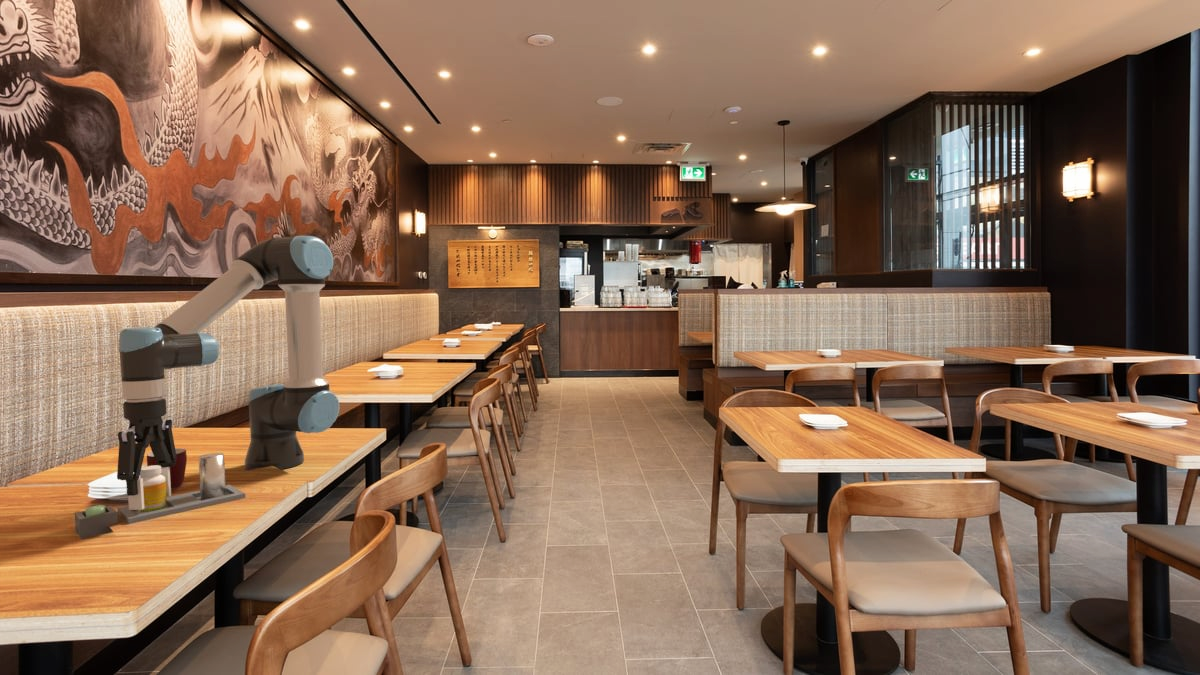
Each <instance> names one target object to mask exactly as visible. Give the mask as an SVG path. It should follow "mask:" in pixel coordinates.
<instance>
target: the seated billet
mask: <svg viewBox="0 0 1200 675" xmlns="http://www.w3.org/2000/svg"><path fill="white" fill-rule="evenodd" d="M225 470H226V468H225V454H224V452H223V453H222V452H215V453H214V452H212V453H207V454H206V453H205V454H202V455H199V456H198V475H199V489H200V490H199V491H200V494H201V501H202V500H206V499H211V498H216V497H220V496H225V495H226V485H227V484H226V471H225Z"/></svg>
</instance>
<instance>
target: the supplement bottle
mask: <svg viewBox="0 0 1200 675" xmlns="http://www.w3.org/2000/svg"><path fill="white" fill-rule="evenodd" d="M160 473H161V466H159V465H152V466H147V465H146V466H142V468H141V472H140V477H139V478H143V492H144V509H142V510H136V512H137V514H142V513H146V512H151V511H156V510H160V509H165V508H166V507H167V504H166V497H167V496H166V481H165V477H164V476H163V475H160Z"/></svg>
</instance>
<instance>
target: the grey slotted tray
mask: <svg viewBox="0 0 1200 675" xmlns="http://www.w3.org/2000/svg"><path fill="white" fill-rule="evenodd" d="M225 485H226V495H225V496H220V497H216V498H211V499H206V500H202V501H201V494H200V490H195V491H190V492H186V493H181V494H176V495H171V496H166V504H167V507H166V508H165V509H160V510H156V511H151V512H146V513H142V514H137V512H136V510H129V504H128V505H122V506H118V507H117V508H116V511H117V514H119V516H120V517H121V518H123V520H124V521H125V522H126V523H127V524H128V525H129V524H135V523H140V522H144V521H148V520H153V519H159V518H161V517H167V516H170V515H175V514H181V513H184V512H185V513H186V512H188V511H193V510H196V509H197V510H198V509H202V508H206V507H211V506H215V505H219V504H224V503H229V502H232V501H233V502H234V501H237V500H241V499H246V493H245V492H244V491H242V490H240V489H238V488H237V487H235V486H233V485H231V484H225Z"/></svg>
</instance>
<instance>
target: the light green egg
mask: <svg viewBox="0 0 1200 675" xmlns="http://www.w3.org/2000/svg"><path fill="white" fill-rule="evenodd" d="M105 507H106V505H104V504H97V505H93V506H88V507H86V508H84V509H85V510H84V511H85V512H86V517H88V516H92V515H97V514H102V513H106V509H105Z"/></svg>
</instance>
